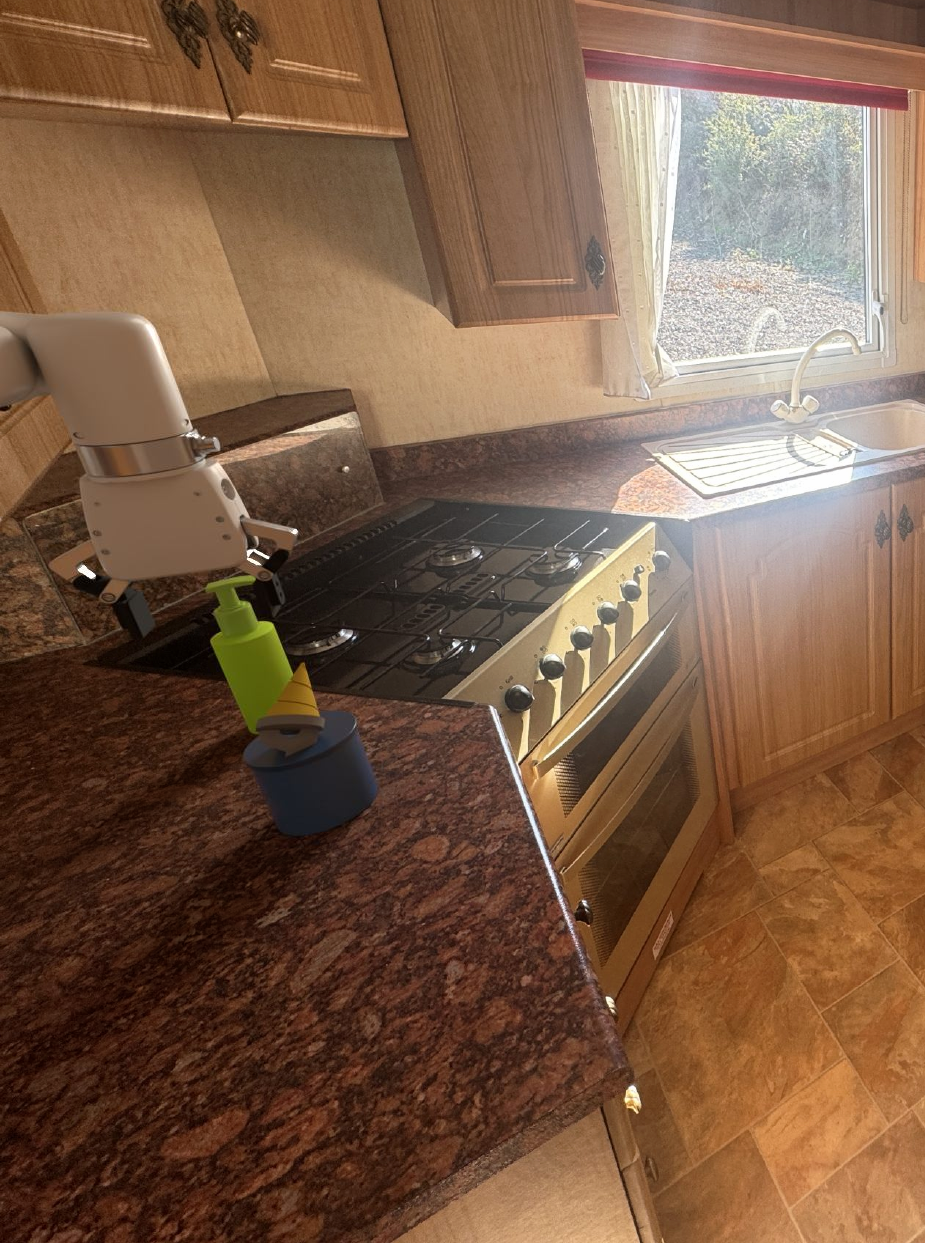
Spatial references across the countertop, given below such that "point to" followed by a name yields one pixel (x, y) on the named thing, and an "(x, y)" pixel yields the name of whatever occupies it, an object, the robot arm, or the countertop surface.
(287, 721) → the drill bit
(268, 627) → the soap dispenser
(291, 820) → the tin
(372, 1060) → the countertop surface
